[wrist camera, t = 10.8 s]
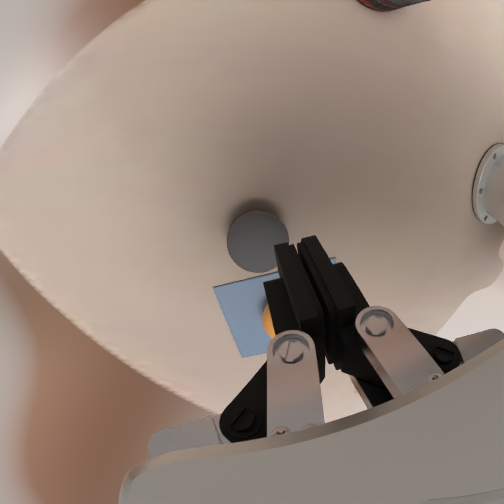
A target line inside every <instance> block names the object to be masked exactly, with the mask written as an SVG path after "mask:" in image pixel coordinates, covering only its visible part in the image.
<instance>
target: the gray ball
mask: <svg viewBox="0 0 504 504" xmlns="http://www.w3.org/2000/svg"><path fill="white" fill-rule="evenodd" d="M285 242H288V245H289V236H288V232H287V229H286V227H285V225H284V224H283V223H282V221H281V220H280V219H279V218H278V217H276V216H275V215H273V214H271V213H269V212H266V211H258V210H256V211H250V212H247V213H245V214H243V215H241V216H240V217H238V218H237V219H236V220H235V221H234V222H233V224H232V225H231V227H230V229H229V232H228V235H227V248H228V251H229V254H230V256H231V258H232V259H233V261H234V262H235V263H236V264H237V265H238V266H239V267H241V268H243V269H244V270H247V271H250V272H255V273H261V272H266V271H269V270H271V269H274V268H275V267H277V261H276V256H275V251H274V245H277V244H281V243H285Z"/></svg>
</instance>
